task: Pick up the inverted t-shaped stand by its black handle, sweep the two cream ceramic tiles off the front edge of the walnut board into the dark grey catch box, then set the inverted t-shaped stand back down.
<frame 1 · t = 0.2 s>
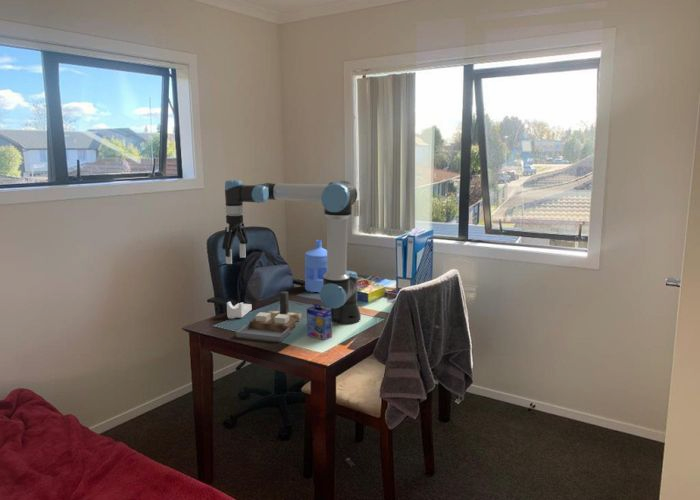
hand: (236, 260, 247), 28 cm above the table, tool pointing down, fingers open, 13 cm apart
tile a: (282, 321, 237), point 3 cm above the table, touching walnut board
catch box: (263, 335, 229), on the table
inverted t-shaped stand: (284, 319, 251), on the table
tile b: (263, 319, 239), point 3 cm above the table, touching walnut board
water jug: (318, 289, 302), on the table
walnut board: (272, 328, 239), on the table
bracket: (239, 315, 257), on the table
ink cartridge box: (319, 336, 229), on the table
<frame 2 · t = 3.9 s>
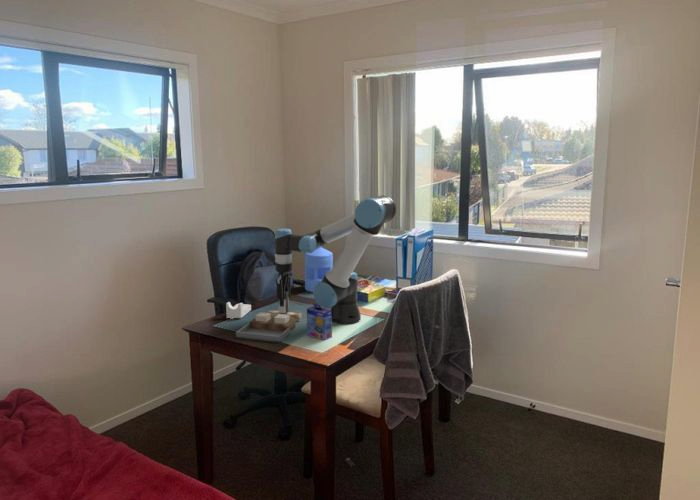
hand: (284, 311, 251), 4 cm above the table, tool pointing down, fingers closed on inverted t-shaped stand, 3 cm apart
inverted t-shaped stand: (284, 318, 251), on the table, touching gripper
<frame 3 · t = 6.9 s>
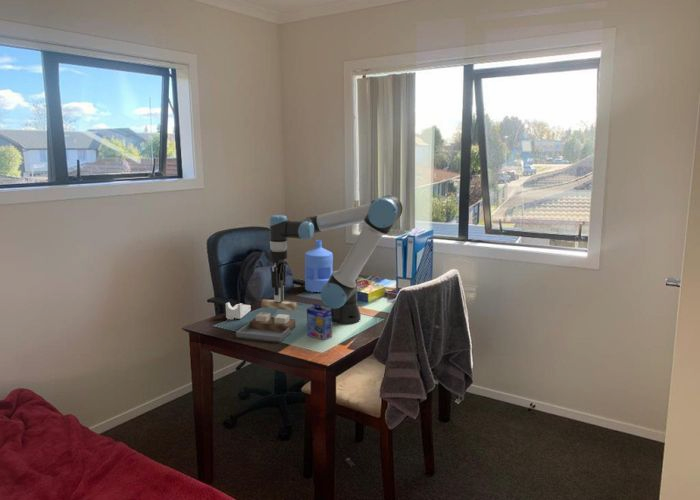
hand: (278, 300, 244), 10 cm above the table, tool pointing down, fingers closed on inverted t-shaped stand, 3 cm apart
inverted t-shaped stand: (279, 308, 245), point 7 cm above the table, touching gripper
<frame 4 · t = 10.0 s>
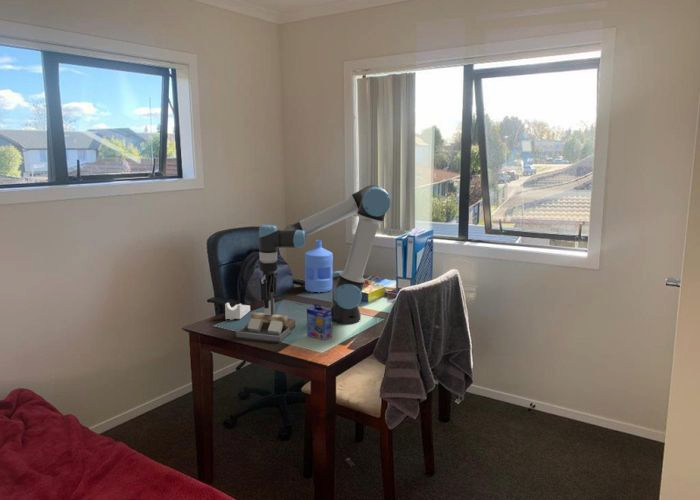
hand: (269, 313, 234), 8 cm above the table, tool pointing down, fingers closed on inverted t-shaped stand, 3 cm apart
tile a: (276, 329, 231), point 2 cm above the table, tilted 40°, touching catch box
inverted t-shaped stand: (269, 321, 235), point 4 cm above the table, touching gripper, tile b
tile b: (256, 326, 234), point 2 cm above the table, tilted 40°, touching catch box, inverted t-shaped stand
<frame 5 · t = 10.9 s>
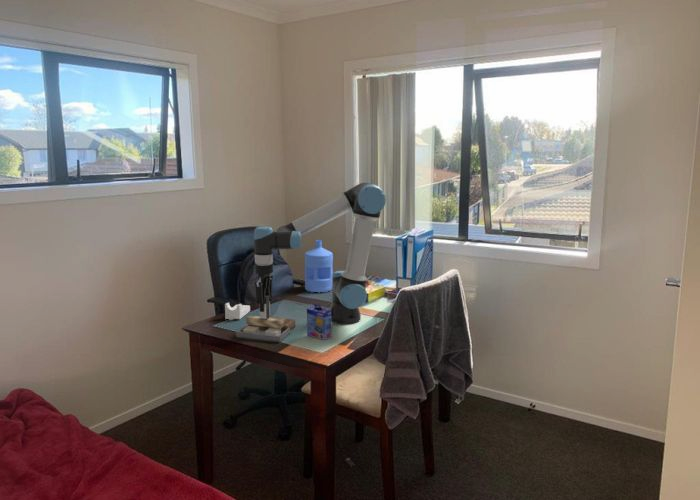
hand: (264, 316, 230), 8 cm above the table, tool pointing down, fingers closed on inverted t-shaped stand, 3 cm apart
tile a: (273, 335, 228), point 1 cm above the table, touching catch box
inverted t-shaped stand: (264, 325, 231), point 4 cm above the table, touching gripper
tile b: (251, 333, 229), point 1 cm above the table, touching catch box
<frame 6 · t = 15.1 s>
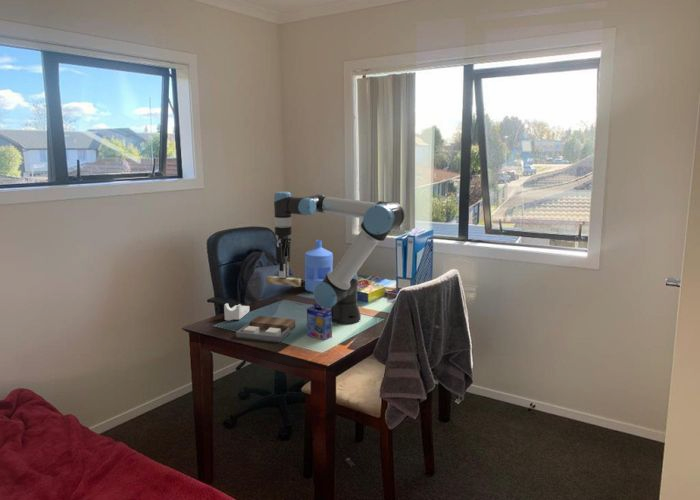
hand: (283, 276, 247), 20 cm above the table, tool pointing down, fingers closed on inverted t-shaped stand, 3 cm apart
inverted t-shaped stand: (283, 284, 248), point 17 cm above the table, touching gripper
when the fingers open (5 cm above the table, at t = 18.7 s): inverted t-shaped stand stays where it is, on the table.
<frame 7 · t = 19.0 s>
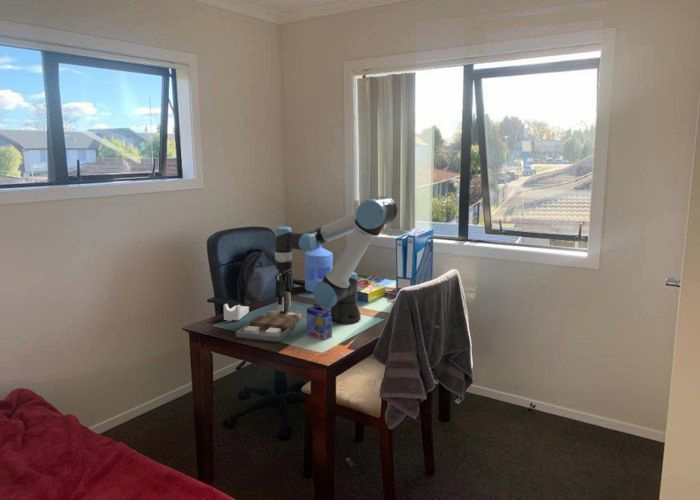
hand: (284, 308, 250), 5 cm above the table, tool pointing down, fingers open, 8 cm apart
inverted t-shaped stand: (284, 319, 251), on the table
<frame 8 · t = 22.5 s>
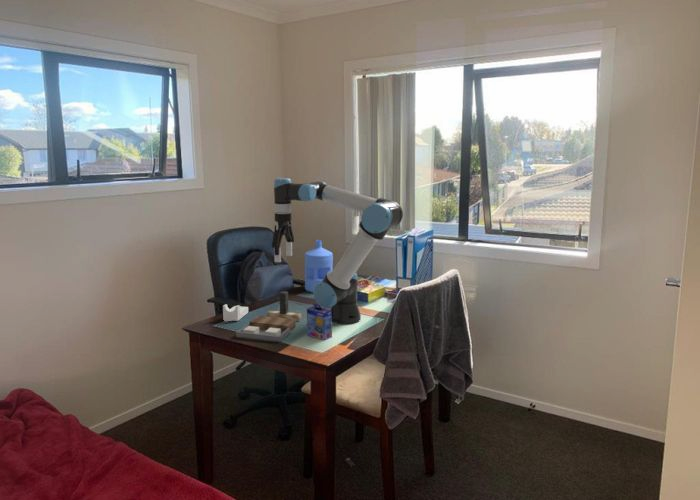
hand: (283, 258, 246), 29 cm above the table, tool pointing down, fingers open, 13 cm apart
at the end: tile a inside the target area on the catch box (4.7 cm from its centre), point 0.6 cm above the catch box's base; tile b inside the target area on the catch box (5.3 cm from its centre), point 0.6 cm above the catch box's base; inverted t-shaped stand tilted 0° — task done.
